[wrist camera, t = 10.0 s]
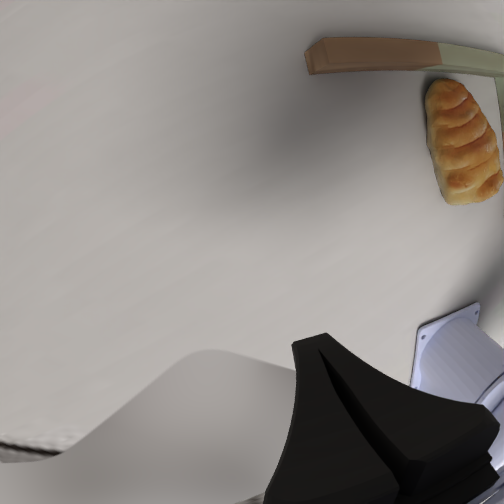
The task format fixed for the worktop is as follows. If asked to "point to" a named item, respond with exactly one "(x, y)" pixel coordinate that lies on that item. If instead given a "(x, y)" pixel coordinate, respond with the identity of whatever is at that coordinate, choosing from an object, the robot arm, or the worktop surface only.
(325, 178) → the worktop surface
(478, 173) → the pastry
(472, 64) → the two-tone corner bracket
